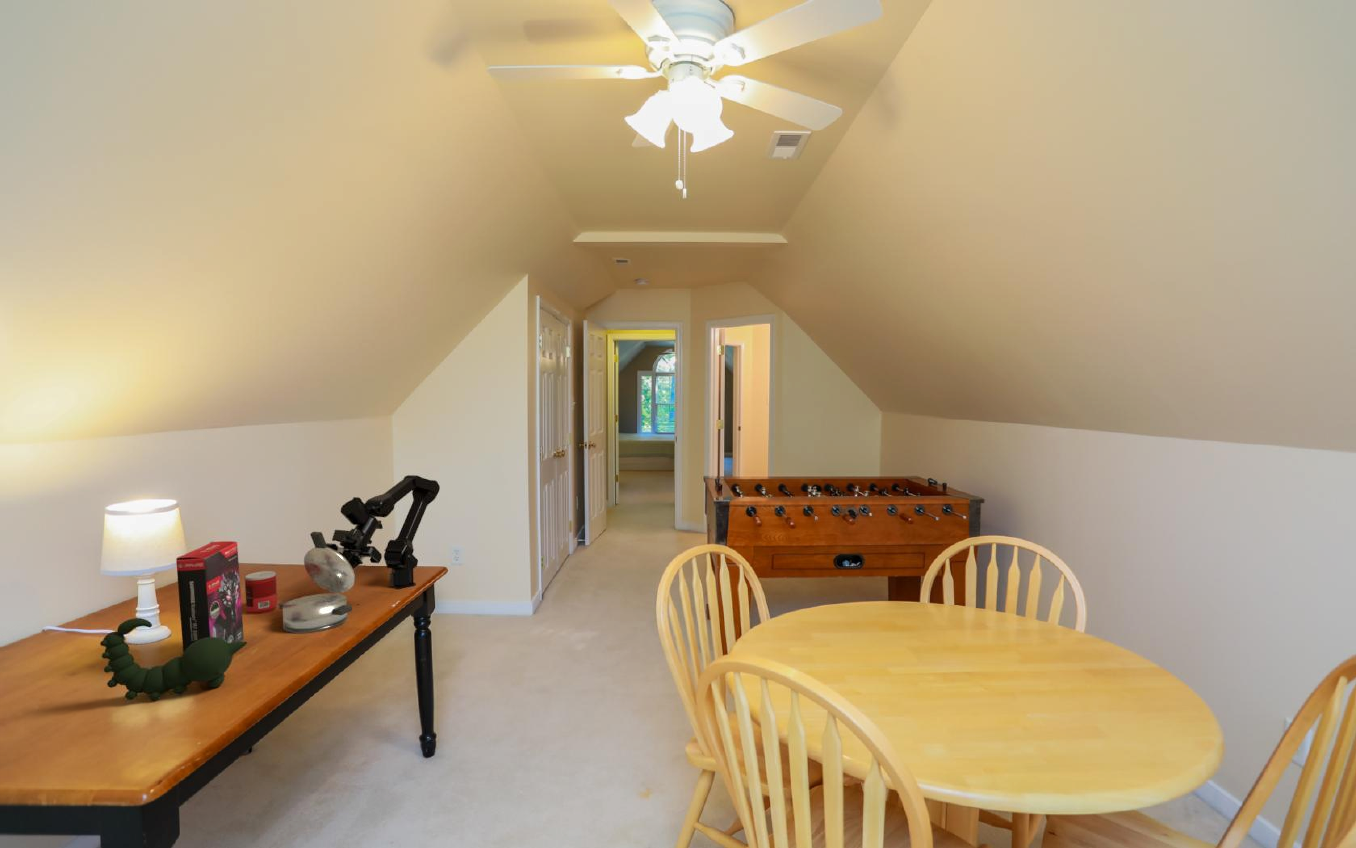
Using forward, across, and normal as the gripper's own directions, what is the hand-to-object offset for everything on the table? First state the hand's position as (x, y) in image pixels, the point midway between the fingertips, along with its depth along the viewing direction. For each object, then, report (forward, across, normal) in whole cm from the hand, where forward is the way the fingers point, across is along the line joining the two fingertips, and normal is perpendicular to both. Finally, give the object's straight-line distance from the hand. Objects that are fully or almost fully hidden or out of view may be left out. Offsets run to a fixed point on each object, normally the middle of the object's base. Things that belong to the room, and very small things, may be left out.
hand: (336, 577), depth 193 cm
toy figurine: (+44, +5, -28) cm, 52 cm away
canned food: (+10, -25, +6) cm, 28 cm away
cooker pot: (+13, 0, +2) cm, 14 cm away
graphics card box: (+31, -7, -15) cm, 36 cm away
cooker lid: (-1, 0, -6) cm, 6 cm away
